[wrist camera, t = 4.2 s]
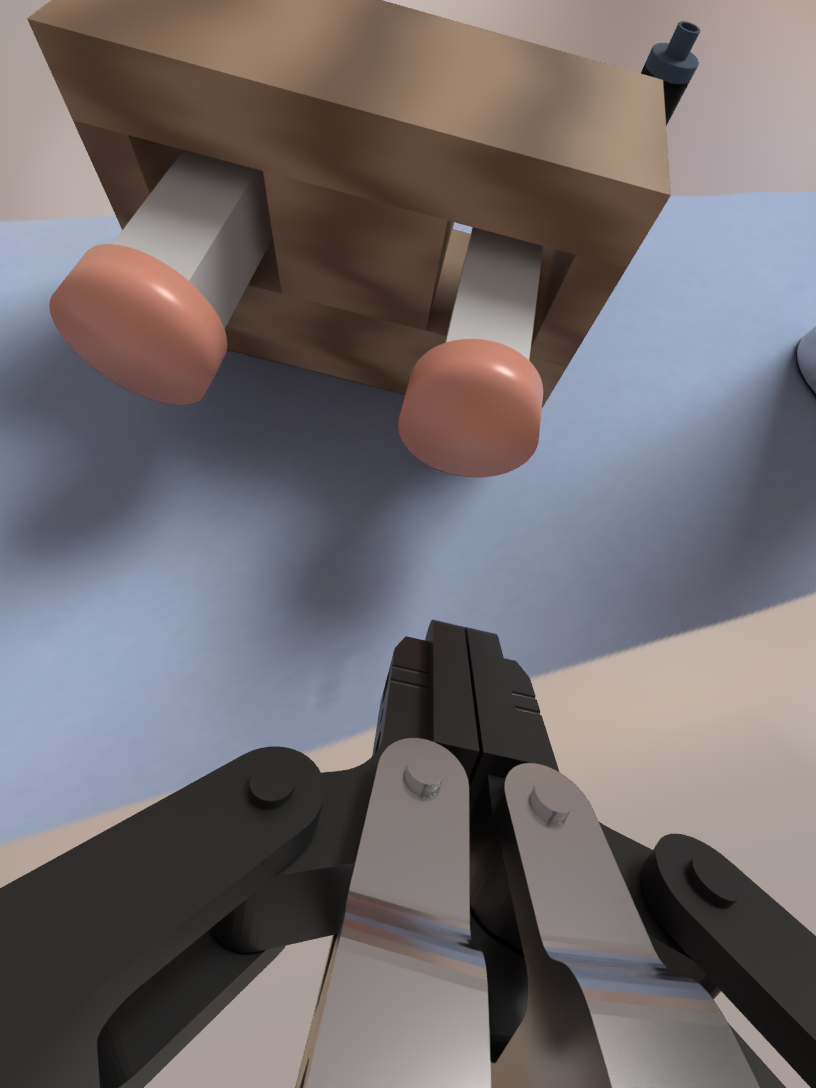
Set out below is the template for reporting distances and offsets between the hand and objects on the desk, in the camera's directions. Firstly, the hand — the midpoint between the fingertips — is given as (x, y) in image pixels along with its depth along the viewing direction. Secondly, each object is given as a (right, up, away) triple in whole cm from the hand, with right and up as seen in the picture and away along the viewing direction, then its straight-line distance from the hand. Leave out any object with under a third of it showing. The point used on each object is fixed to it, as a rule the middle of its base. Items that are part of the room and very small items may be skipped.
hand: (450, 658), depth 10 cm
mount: (-3, +16, +16) cm, 23 cm away
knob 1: (-10, +13, +10) cm, 19 cm away
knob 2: (+2, +10, +10) cm, 14 cm away
